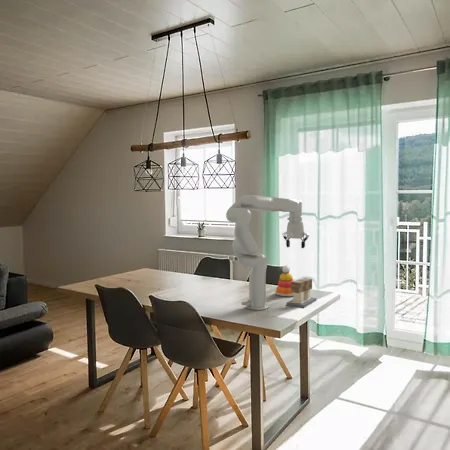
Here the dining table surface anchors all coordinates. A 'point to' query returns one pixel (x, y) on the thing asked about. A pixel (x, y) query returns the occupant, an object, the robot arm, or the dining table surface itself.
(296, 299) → the plate
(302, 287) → the walnut beam
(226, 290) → the dining table surface
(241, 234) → the robot arm
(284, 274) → the stacking toy
